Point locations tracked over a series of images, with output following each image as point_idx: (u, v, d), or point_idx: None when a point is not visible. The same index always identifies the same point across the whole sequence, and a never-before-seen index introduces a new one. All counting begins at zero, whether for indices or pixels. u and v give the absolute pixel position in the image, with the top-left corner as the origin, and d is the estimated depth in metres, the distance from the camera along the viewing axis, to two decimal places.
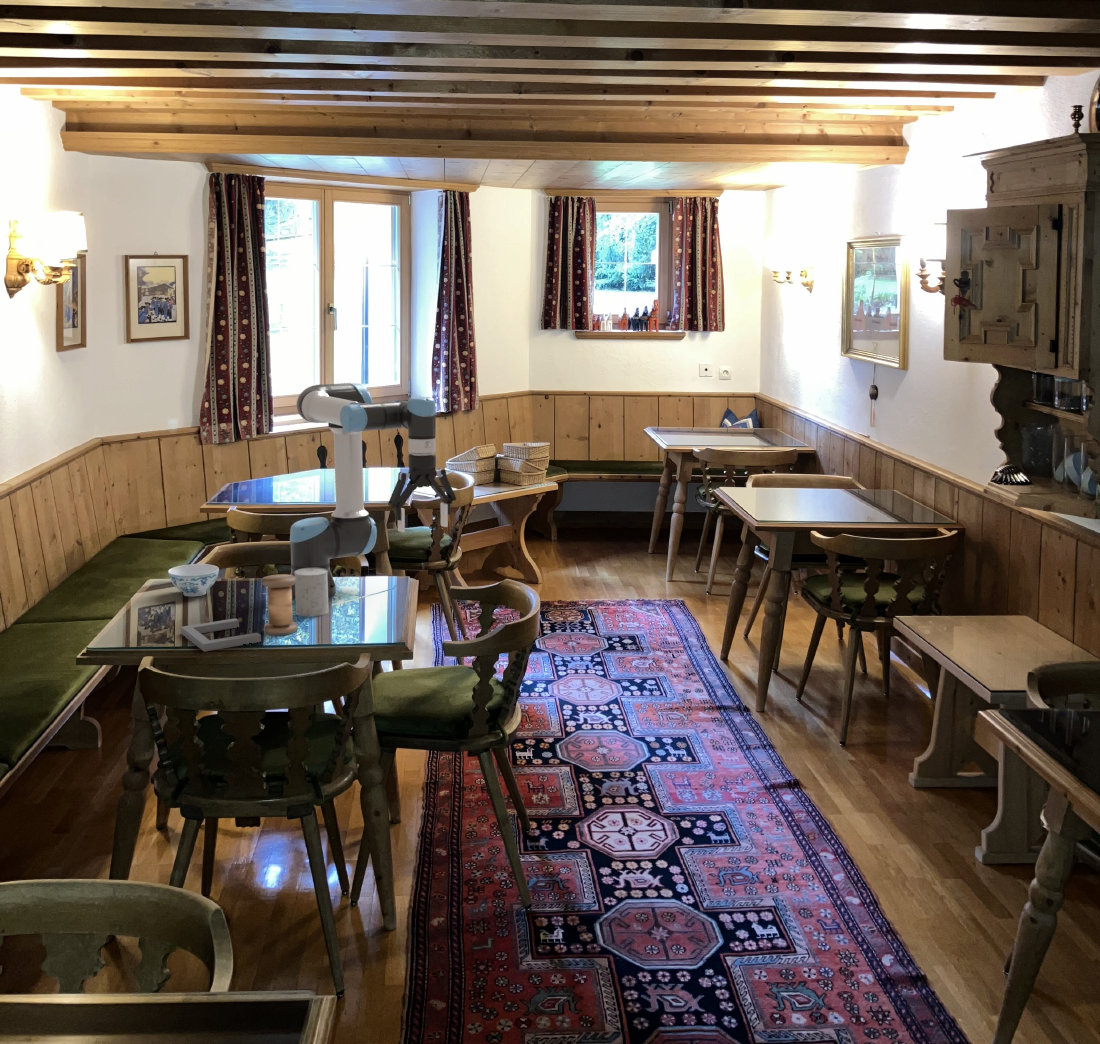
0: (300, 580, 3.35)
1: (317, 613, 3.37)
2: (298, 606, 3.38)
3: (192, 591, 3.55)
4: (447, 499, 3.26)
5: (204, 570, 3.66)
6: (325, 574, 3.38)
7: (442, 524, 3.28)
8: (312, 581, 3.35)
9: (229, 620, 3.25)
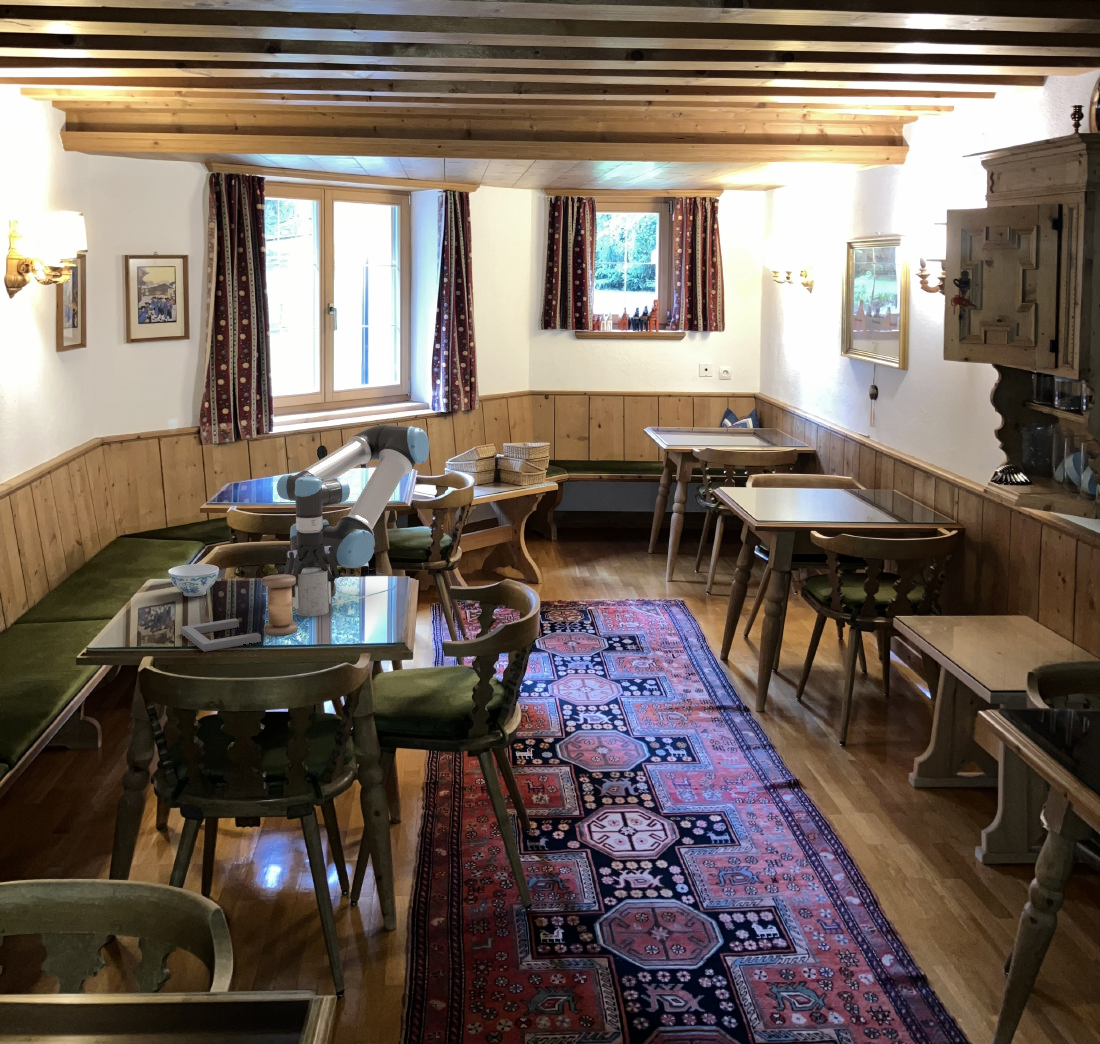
0: (300, 580, 3.35)
1: (317, 613, 3.37)
2: None
3: (192, 591, 3.55)
4: (330, 577, 3.42)
5: (204, 570, 3.66)
6: (325, 574, 3.38)
7: None
8: (312, 581, 3.35)
9: (229, 620, 3.25)
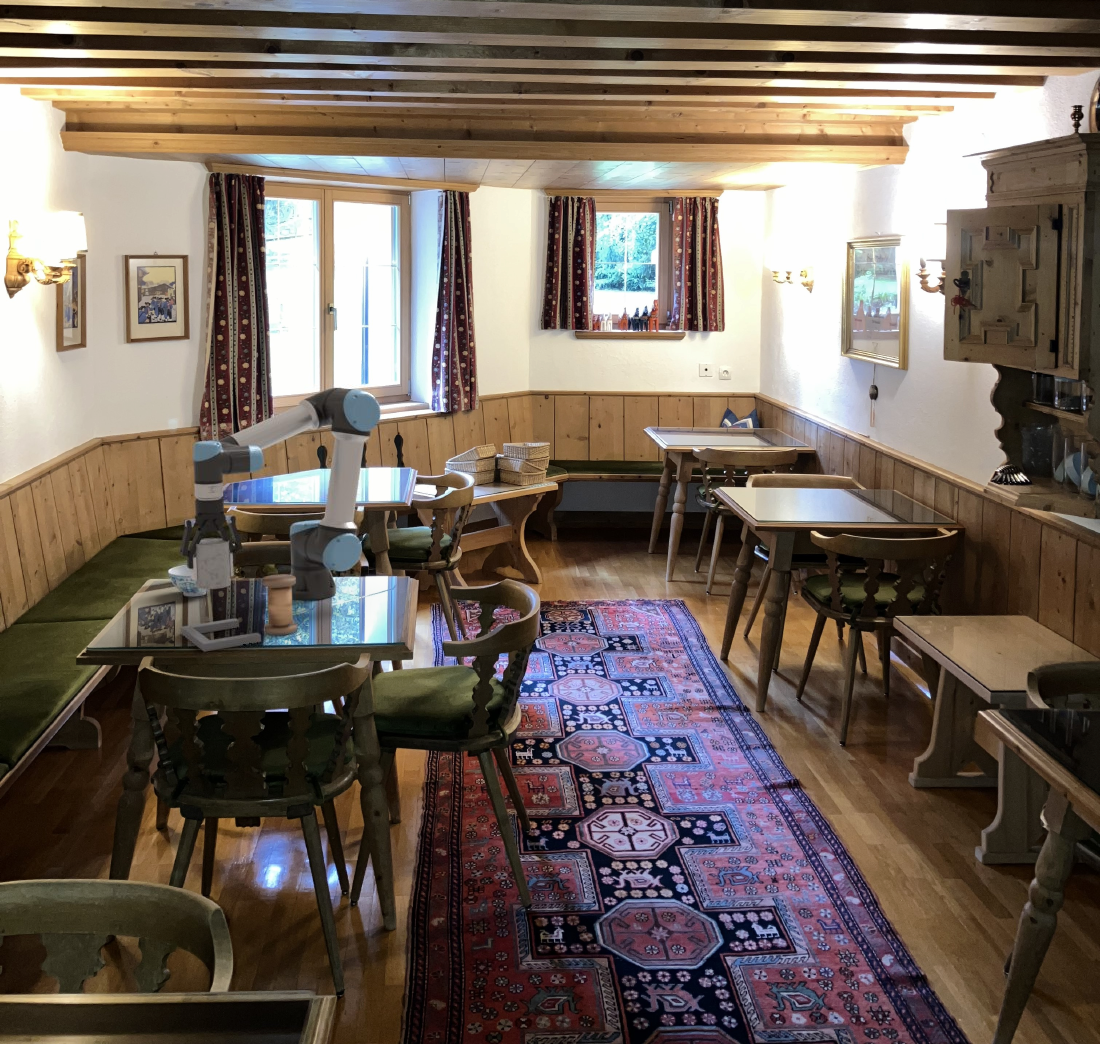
0: (198, 550, 3.17)
1: (216, 586, 3.18)
2: (197, 578, 3.19)
3: (192, 591, 3.55)
4: (232, 548, 3.23)
5: None
6: (226, 544, 3.19)
7: None
8: (211, 551, 3.16)
9: (229, 620, 3.25)
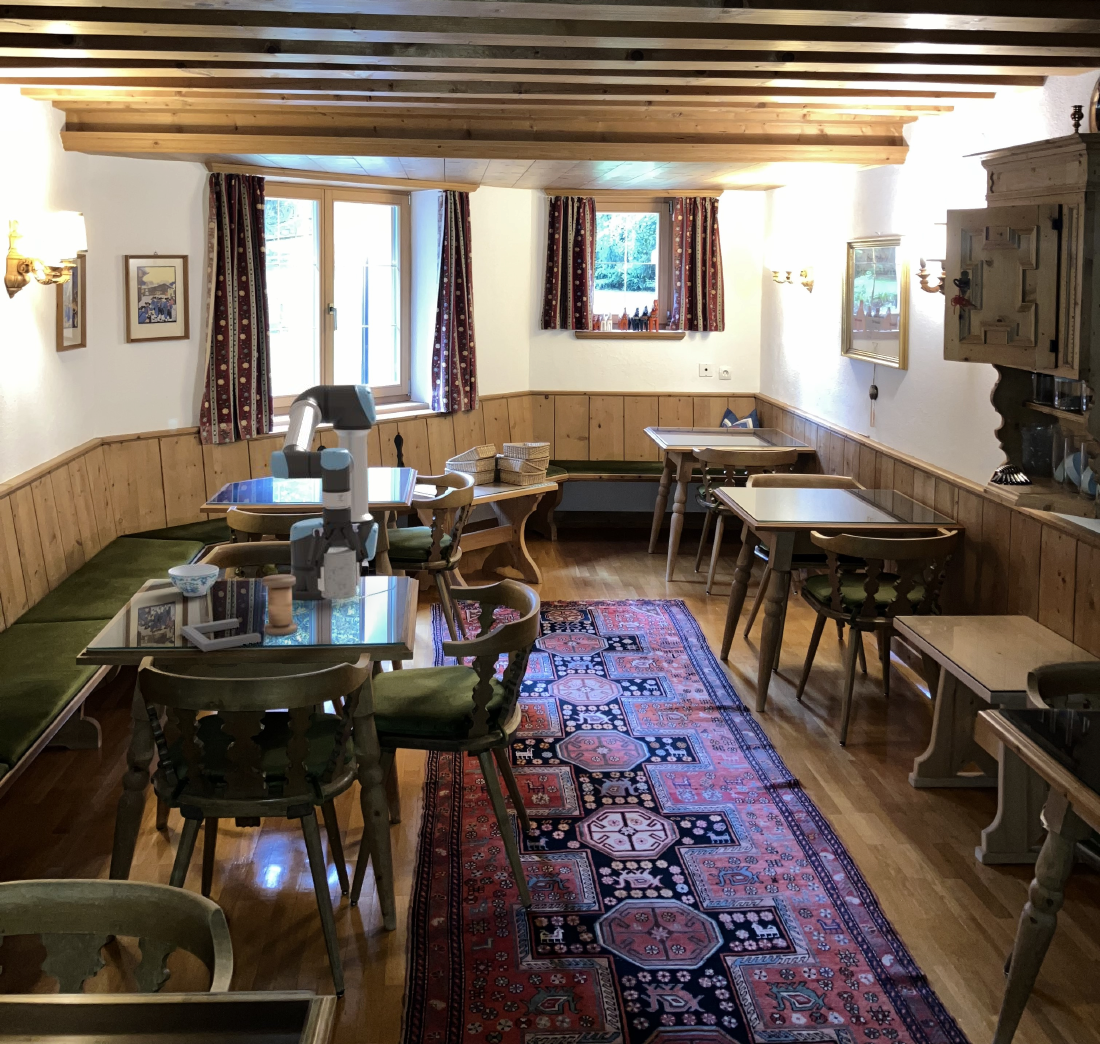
0: (326, 560, 3.10)
1: (344, 596, 3.11)
2: None
3: (192, 591, 3.55)
4: (359, 557, 3.16)
5: (204, 570, 3.66)
6: (353, 554, 3.12)
7: None
8: (339, 561, 3.09)
9: (229, 620, 3.25)
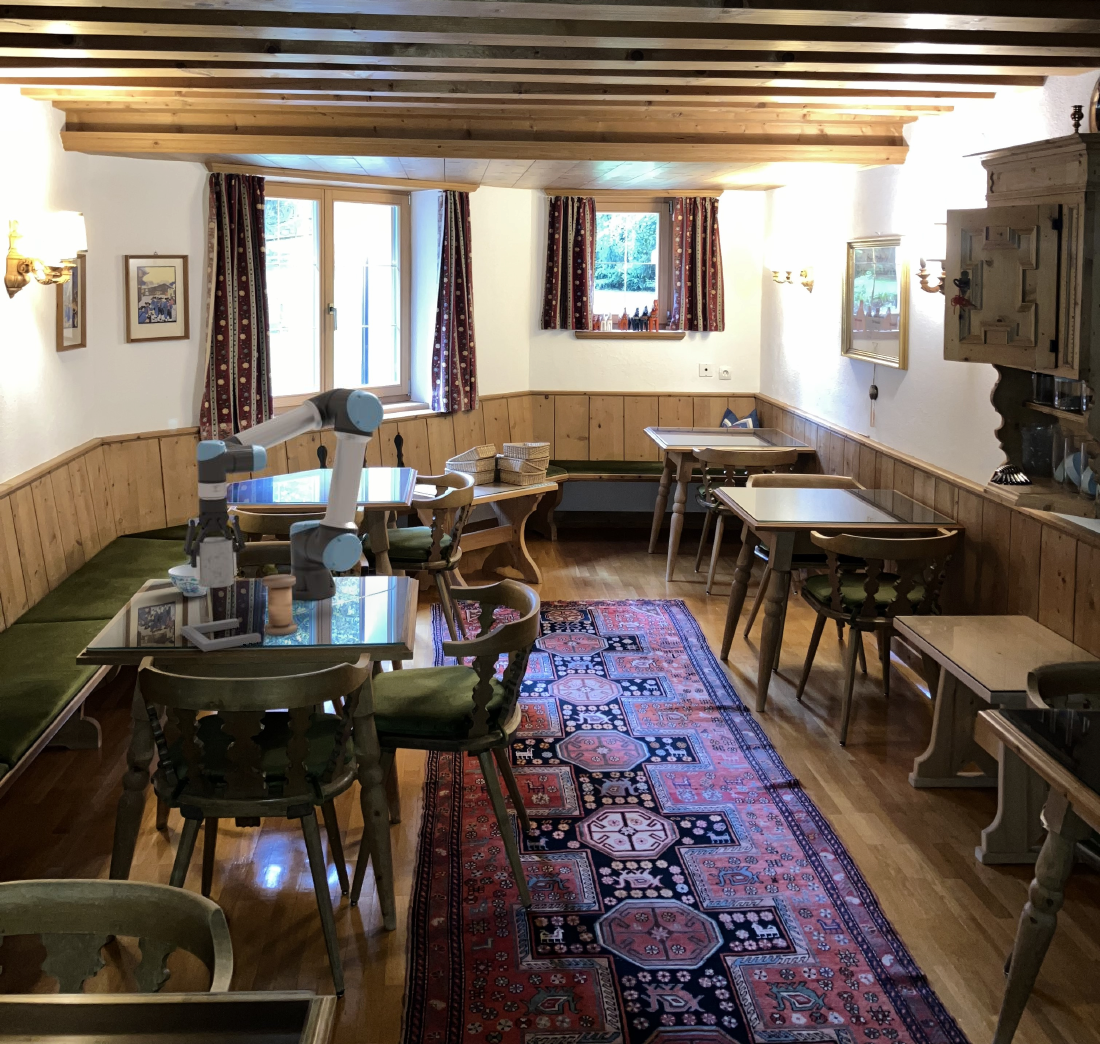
0: (201, 549, 3.17)
1: (220, 584, 3.19)
2: (200, 576, 3.19)
3: (192, 591, 3.55)
4: (236, 547, 3.23)
5: None
6: (229, 543, 3.19)
7: None
8: (214, 550, 3.17)
9: (229, 620, 3.25)
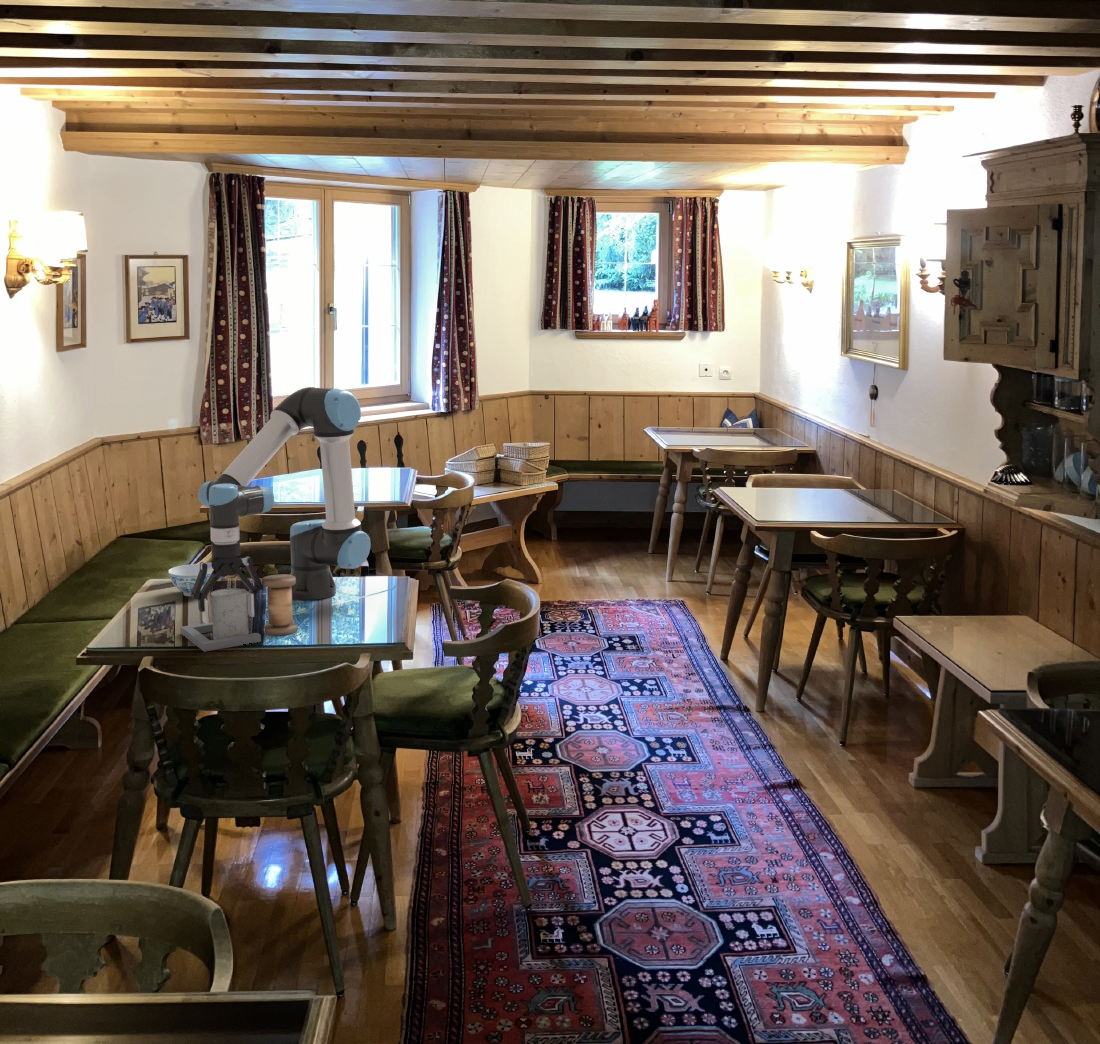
0: (216, 602, 3.11)
1: None
2: (215, 630, 3.13)
3: None
4: (253, 589, 3.17)
5: None
6: (244, 596, 3.14)
7: (249, 614, 3.19)
8: (229, 603, 3.11)
9: None
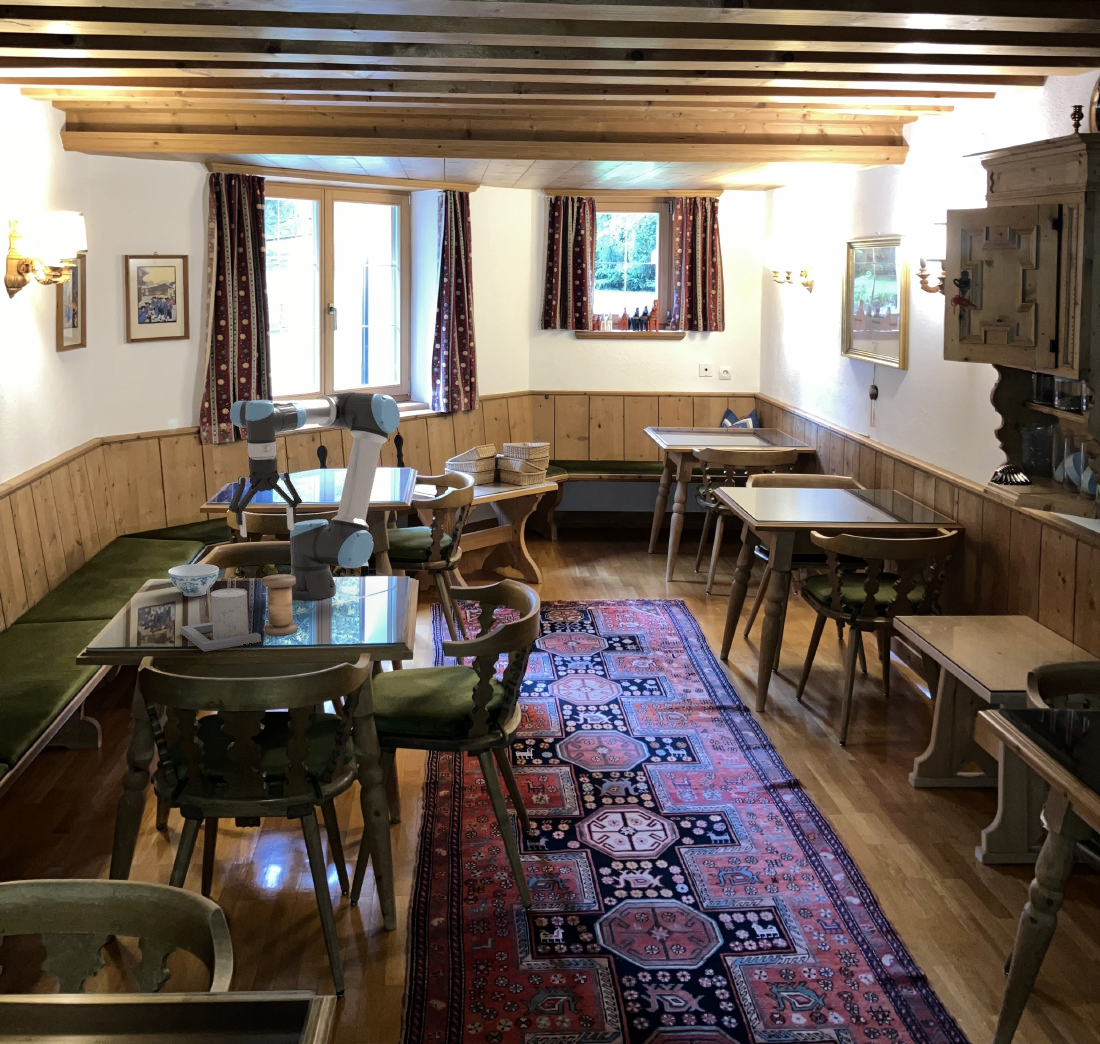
0: (216, 602, 3.11)
1: None
2: (215, 630, 3.13)
3: (192, 591, 3.55)
4: (292, 502, 3.23)
5: (204, 570, 3.66)
6: (244, 596, 3.13)
7: (289, 527, 3.25)
8: (229, 603, 3.11)
9: None
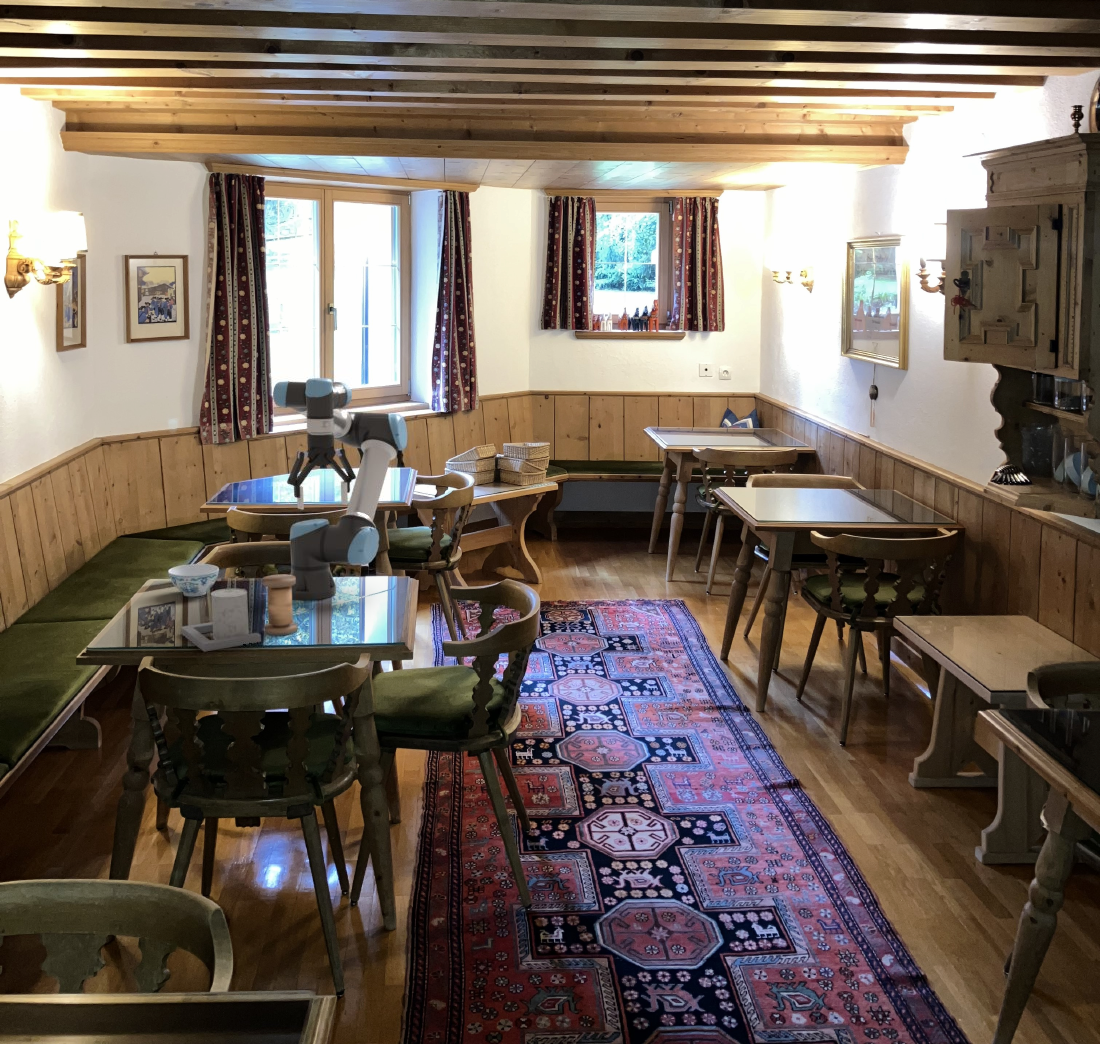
0: (216, 602, 3.11)
1: None
2: (215, 630, 3.13)
3: (192, 591, 3.55)
4: (347, 478, 3.36)
5: (204, 570, 3.66)
6: (244, 596, 3.14)
7: (342, 502, 3.38)
8: (229, 603, 3.11)
9: None
